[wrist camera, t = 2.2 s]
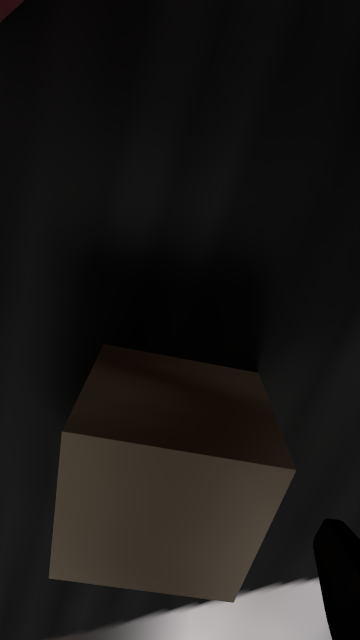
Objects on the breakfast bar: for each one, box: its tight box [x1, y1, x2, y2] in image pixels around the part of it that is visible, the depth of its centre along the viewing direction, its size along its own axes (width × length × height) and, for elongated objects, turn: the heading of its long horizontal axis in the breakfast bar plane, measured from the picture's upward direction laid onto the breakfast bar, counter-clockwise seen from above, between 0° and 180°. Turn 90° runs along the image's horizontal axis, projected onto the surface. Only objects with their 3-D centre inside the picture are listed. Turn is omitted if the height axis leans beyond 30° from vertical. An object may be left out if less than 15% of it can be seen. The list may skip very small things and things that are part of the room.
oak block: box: [49, 344, 296, 602], centre depth 10 cm, size 5×5×4 cm
